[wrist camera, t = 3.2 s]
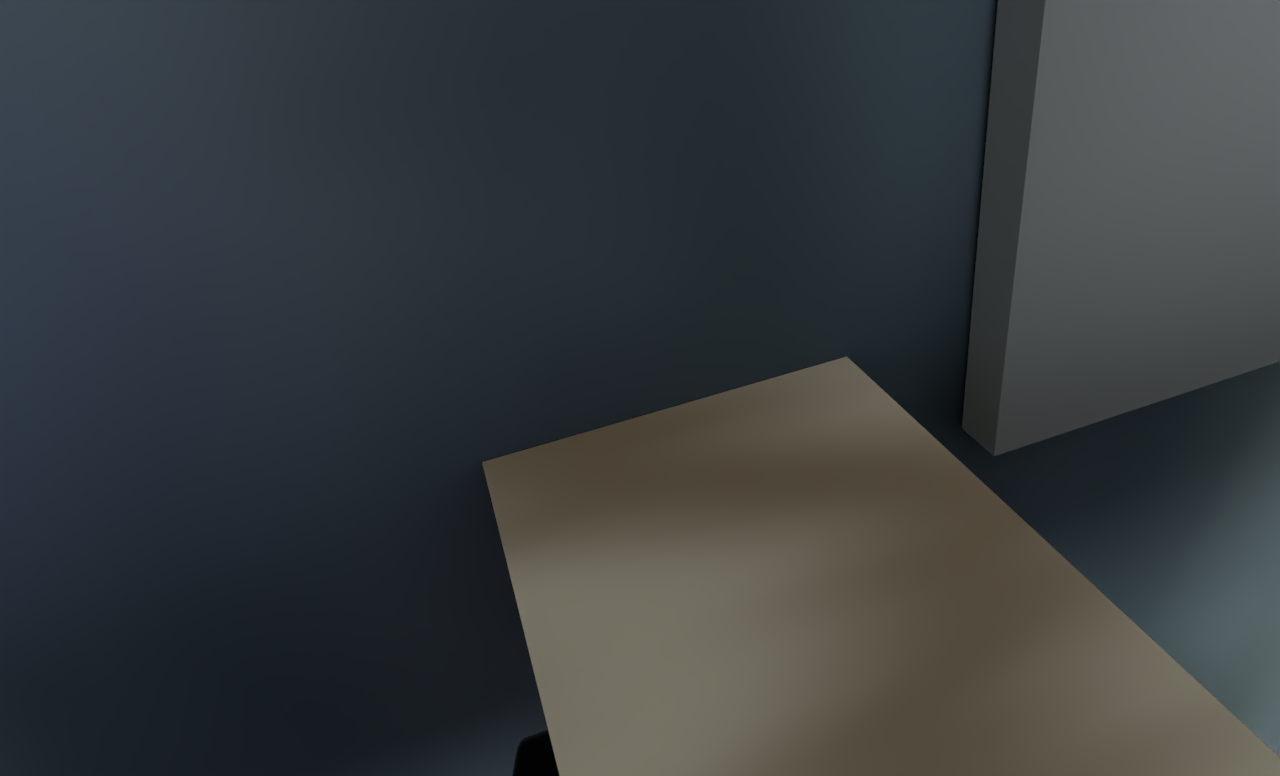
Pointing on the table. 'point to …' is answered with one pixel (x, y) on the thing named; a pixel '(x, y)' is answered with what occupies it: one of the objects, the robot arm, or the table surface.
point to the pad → (1123, 211)
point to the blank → (824, 606)
